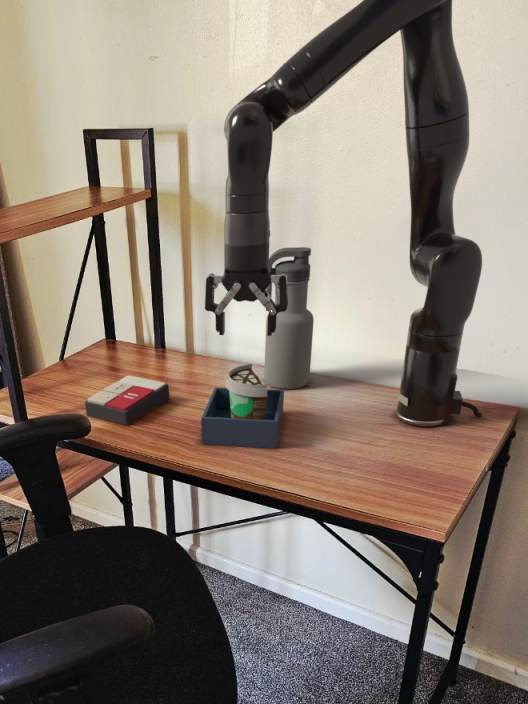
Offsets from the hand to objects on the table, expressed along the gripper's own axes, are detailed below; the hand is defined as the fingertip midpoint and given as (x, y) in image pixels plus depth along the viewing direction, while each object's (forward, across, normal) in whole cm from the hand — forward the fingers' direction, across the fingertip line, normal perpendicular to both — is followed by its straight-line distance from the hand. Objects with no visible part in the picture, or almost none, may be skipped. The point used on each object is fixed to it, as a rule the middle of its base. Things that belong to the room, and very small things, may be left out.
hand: (245, 334), depth 127 cm
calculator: (+18, -25, +7) cm, 32 cm away
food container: (+18, -1, 0) cm, 18 cm away
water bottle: (+19, +6, +25) cm, 32 cm away
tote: (+18, 0, 0) cm, 19 cm away
